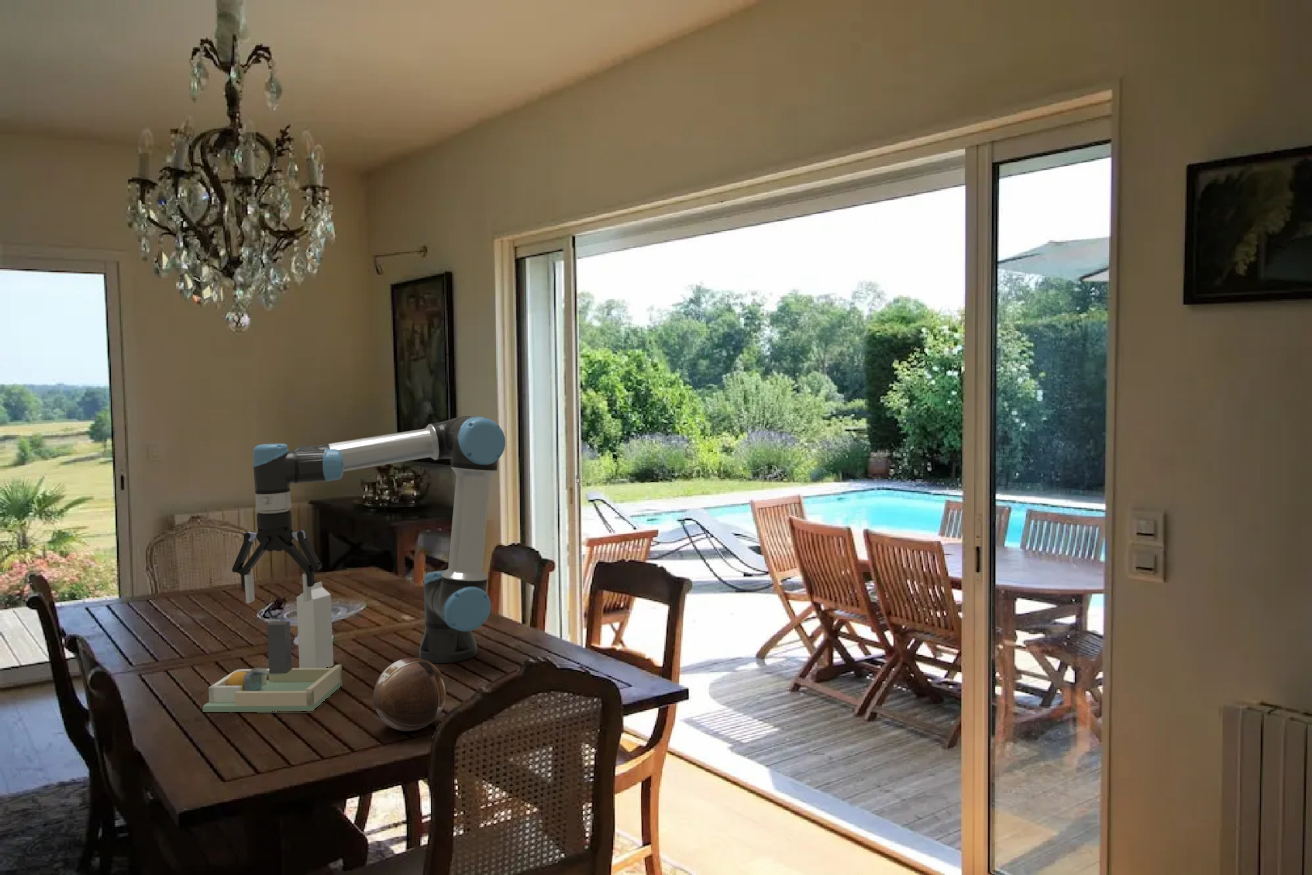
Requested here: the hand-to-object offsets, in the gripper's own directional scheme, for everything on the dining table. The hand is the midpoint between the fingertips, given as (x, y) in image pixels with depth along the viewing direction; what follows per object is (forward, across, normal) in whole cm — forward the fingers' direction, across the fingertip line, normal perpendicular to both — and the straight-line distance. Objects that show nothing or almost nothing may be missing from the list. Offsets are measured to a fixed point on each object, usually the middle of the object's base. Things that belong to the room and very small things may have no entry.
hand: (279, 601), depth 217 cm
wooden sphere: (+24, +36, -19) cm, 47 cm away
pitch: (+23, -2, 0) cm, 23 cm away
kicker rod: (+21, -3, 0) cm, 21 cm away
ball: (+19, -10, 0) cm, 22 cm away
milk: (+23, -2, +24) cm, 33 cm away
